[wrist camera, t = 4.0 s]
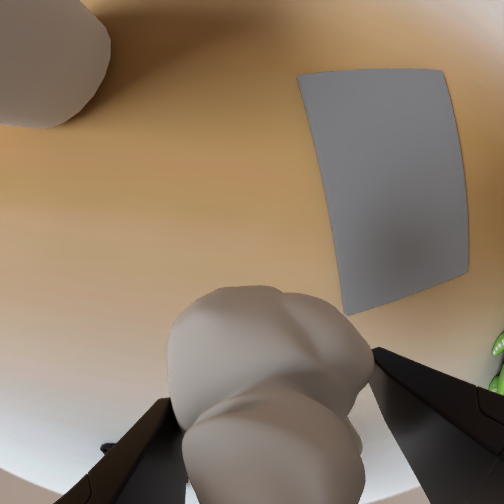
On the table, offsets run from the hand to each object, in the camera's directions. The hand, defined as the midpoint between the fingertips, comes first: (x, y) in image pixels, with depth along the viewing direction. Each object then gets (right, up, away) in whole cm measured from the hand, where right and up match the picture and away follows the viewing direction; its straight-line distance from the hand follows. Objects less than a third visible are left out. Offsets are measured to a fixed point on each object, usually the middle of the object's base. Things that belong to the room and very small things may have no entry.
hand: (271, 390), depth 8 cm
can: (-12, +15, +5) cm, 20 cm away
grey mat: (+8, +8, +8) cm, 14 cm away
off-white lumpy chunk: (0, +1, +2) cm, 2 cm away
